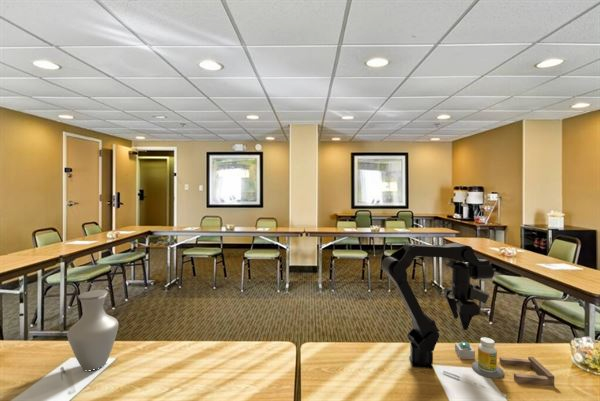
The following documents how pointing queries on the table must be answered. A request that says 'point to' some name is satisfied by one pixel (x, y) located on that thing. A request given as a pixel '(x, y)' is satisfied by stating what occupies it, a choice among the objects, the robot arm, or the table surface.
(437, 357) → the table surface
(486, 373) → the rubber pad
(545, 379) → the housing rails
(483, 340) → the supplement bottle
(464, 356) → the plunger block
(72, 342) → the vase
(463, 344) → the plunger
